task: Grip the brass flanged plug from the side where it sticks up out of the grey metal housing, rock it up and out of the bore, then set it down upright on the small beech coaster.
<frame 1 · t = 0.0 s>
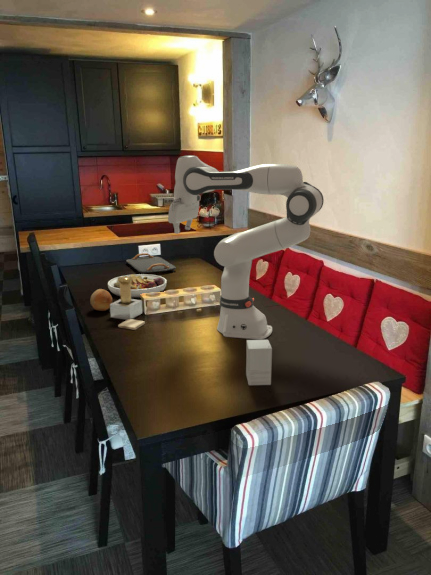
hand: (182, 231, 196), 39 cm above the table, tool pointing down, fingers open, 8 cm apart
housing: (126, 315, 214), on the table
bowl: (137, 291, 251), on the table
supplement box: (258, 380, 155), on the table
onion: (101, 310, 221), on the table
serving board: (150, 268, 298), on the table
cover plug: (125, 296, 212), in the housing
coaster: (131, 325, 202), on the table
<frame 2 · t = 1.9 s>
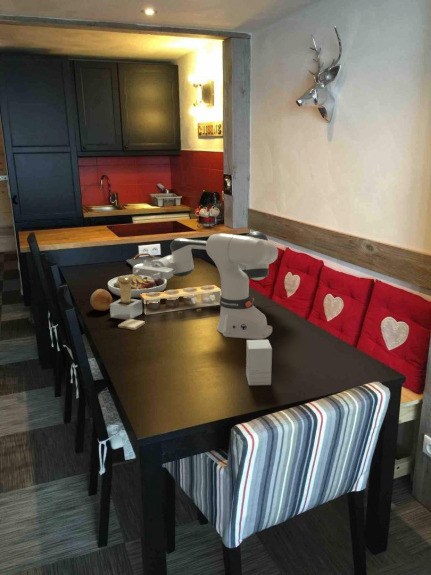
hand: (144, 275, 224), 14 cm above the table, tool horizontal, fingers open, 8 cm apart
nothing on the table moved.
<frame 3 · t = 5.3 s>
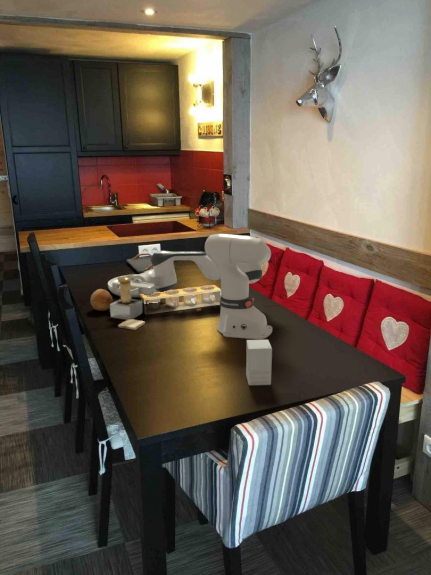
hand: (124, 291, 211), 11 cm above the table, tool horizontal, fingers closed on cover plug, 5 cm apart
cover plug: (125, 296, 212), in the housing, touching gripper
everything else where it was.
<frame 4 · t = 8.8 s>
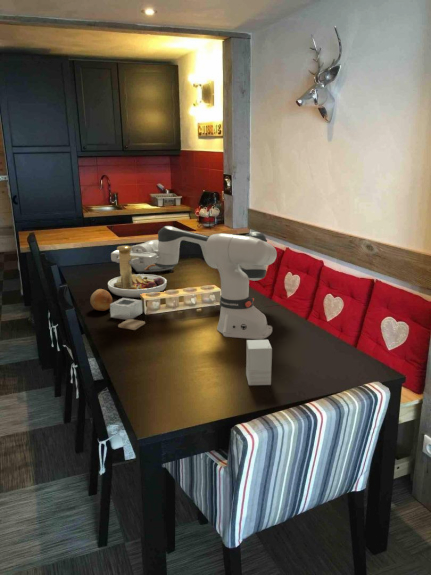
hand: (124, 261, 199), 26 cm above the table, tool horizontal, fingers closed on cover plug, 5 cm apart
cover plug: (125, 267, 200), point 24 cm above the table, touching gripper
everything else where it was.
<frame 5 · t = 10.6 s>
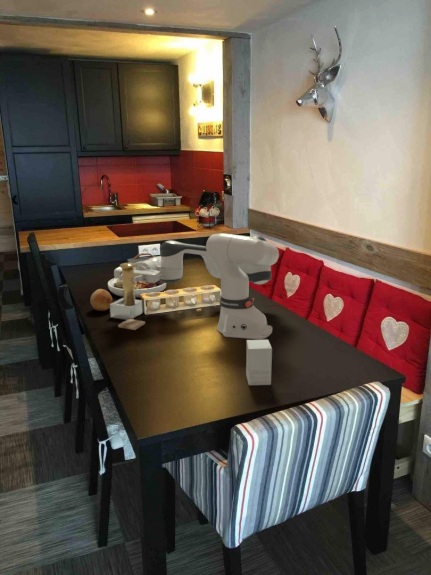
hand: (127, 279, 196), 20 cm above the table, tool horizontal, fingers closed on cover plug, 5 cm apart
cover plug: (128, 284, 198), point 18 cm above the table, touching gripper
when the fingers open (13 cm above the table, at t = 12.3 s): cover plug stays where it is, resting on coaster.
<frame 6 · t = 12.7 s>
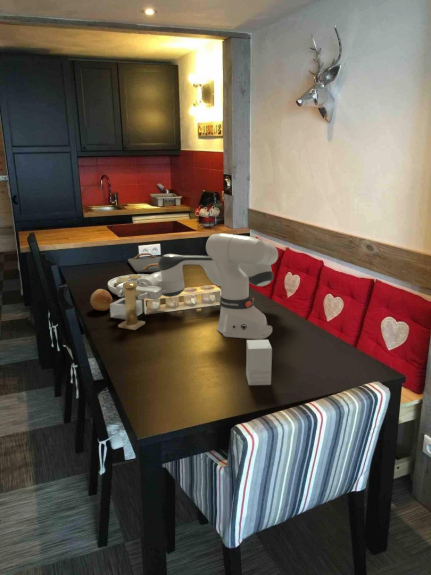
hand: (129, 296, 198), 13 cm above the table, tool horizontal, fingers open, 8 cm apart
cover plug: (130, 303, 200), on the coaster, point 10 cm above the table
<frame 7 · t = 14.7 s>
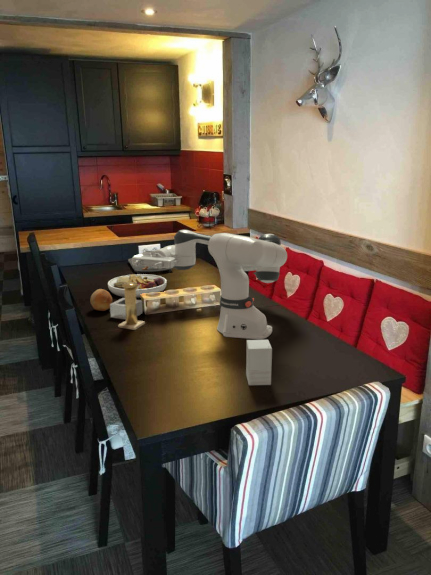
hand: (144, 265, 211), 22 cm above the table, tool horizontal, fingers open, 8 cm apart
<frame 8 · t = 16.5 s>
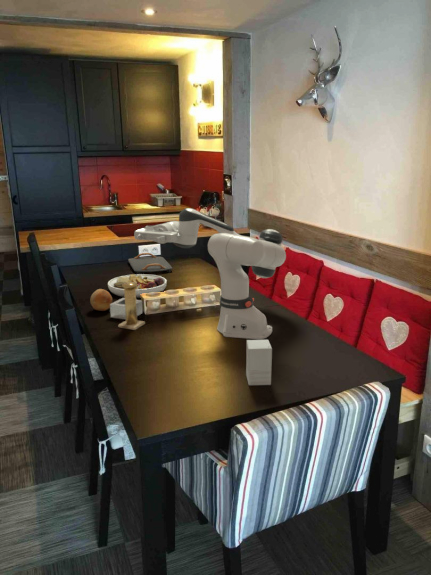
hand: (147, 238, 212), 33 cm above the table, tool horizontal, fingers open, 8 cm apart
at the end: cover plug inside the target area (0.0 cm from its centre), point 9.5 cm above the table; cover plug tilted 1°; cover plug touching coaster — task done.
